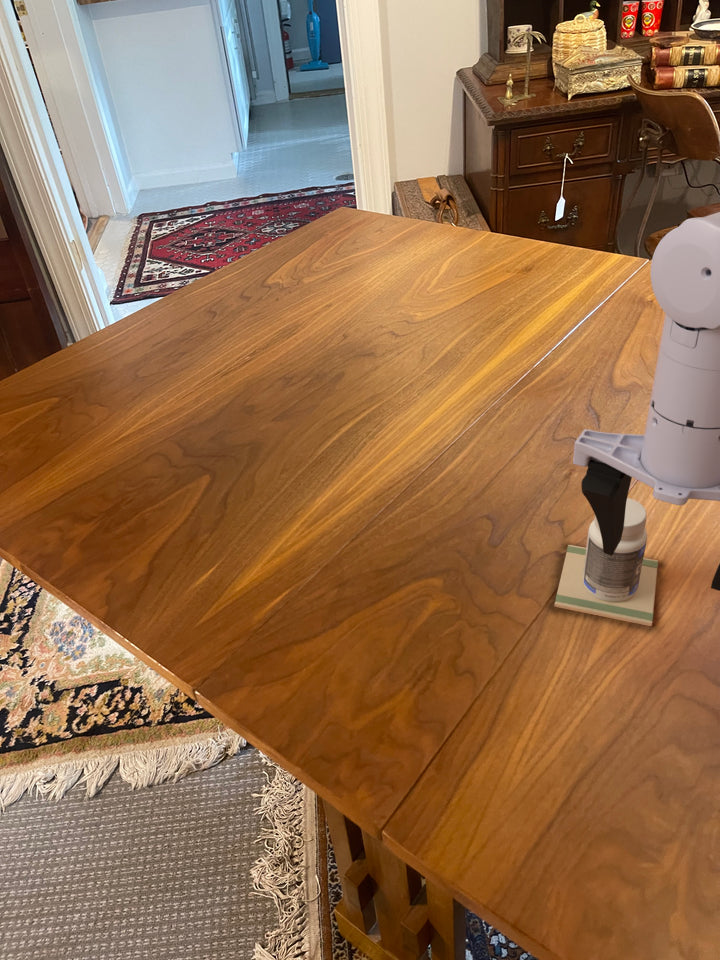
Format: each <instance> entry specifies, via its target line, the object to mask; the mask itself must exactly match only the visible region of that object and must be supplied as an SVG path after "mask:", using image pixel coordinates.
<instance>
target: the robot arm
mask: <svg viewBox="0 0 720 960" xmlns="http://www.w3.org/2000/svg"><path fill="white" fill-rule="evenodd" d="M650 283H651V284H650V285H651V289H652V291H653V295H654V297H655V299H656V301H657V303H658V305H659V307H660V309H662V311H663V312H664V313H665V314H664V320H663V324H662V330H661V331H662V332H661V336H660V343H659V347H658V354H657V359H656V365H655V371H654V376H653V382H652V387H651V394H650V400H649V406H648V412H647V418H646V424H645V429H644V434H636V433H635V434H634V433H633V434H632V433H616V432H603V431H597V430H593V429H588V428H584V429H583V430H582V432H581V433H580V434H579V436H578V437H577V439H576V440H575V441H574V446H573V447H574V448H573V457H572V464H573V465H576V466H579V467H583V468H587V469H586V471H585V473H586V474H585V475H584V476H583V478H582V480H581V483H580V485H581V494H582V495H583V496H584V497H585V499H586V500H587V502H588V503H589V505H590V508H591V509H592V511H593V514H594V517H595V516H596V519H597V522H598V525H599V528H600V532H601V537H602V543H603V552H604V553H605V554H608V555H611V556H612V555H613V553H614V551H615V550H616V548H617V546H618V544H619V543H620V541H621V537H622V533H623V529H624V520H625V509H626V501H627V498H628V497H629V496H628V495H629V492H630V487H631V483H632V478H633V479H634V480H637V481H638V482H640V483H642V484H644V485H646V486H648V487H650V488H652V490H653V491H652V497H653V499H655V500H658V501H661V502H664V503H668V504H671V505H675V506H685V505H686V504H688V501H689V500H700V501H701V500H703V501H713V502H720V211H718V212H715V213H712V214H708V215H706V216H702V217H701V216H700V217H699V216H698V217H691V218H688V219H685V220H683V222H682V223H681V224H680V225H679V226H677V227H675V228H673V229H672V230H670V231H669V232H667V233H666V234H665V235H664V236H663V237H662V238H661V239H660V241H659V242H658V244H657V246H656V248H655V250H654V252H653V255H652V258H651V264H650ZM710 589H713V590H715V591H717V592H718V591H719V592H720V562H719V563H718V566H717V567H716V570H715V573H714V576H713V578H712V581H711V586H710Z"/></svg>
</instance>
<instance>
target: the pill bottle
mask: <svg viewBox="0 0 720 960" xmlns="http://www.w3.org/2000/svg"><path fill="white" fill-rule="evenodd" d="M647 515H648V514H647V510H646V508H645V506H644V505H642V504H641V502H639V501H637V500H635V499H633V498H630V497H627V501H626V509H625V520H624V529H623V533H622V537H621V541H620V543H619V544H618V546H617V548H616V550H615V551H614V553H613V555H612V556H611V555H608V554H605V553H604V552H603V543H602V537H601V532H600V528H599V525H598V522H597V519H596V516H595V515H594V518H593V520H592V521H591V523H590V524H589V527H588V530H587V538H586V546H585V548H586V555H585V562H584V569H583V584H584V586H585V588H586V589H587V591H588V592H589V593H590V594H592V595H593V596H595V597H597V598H599V599H602V600H605V601H623V600H626V599H629V598H630V597H632V596H633V595H634V594H635V593H636V591H637V588H638V584H639V579H640V573H641V568H642V563H643V558H645V552H646V549H647V548H646V547H647V542H648V532H647V529H646V523H647Z"/></svg>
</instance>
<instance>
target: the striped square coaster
mask: <svg viewBox="0 0 720 960" xmlns="http://www.w3.org/2000/svg"><path fill="white" fill-rule="evenodd" d="M585 555H586V546H579V545H574V544H568V545H567V548H566V554H565V557H564V562H563V566H562V571H561V575H560V579H559V582H558V588H557V592H556V596H555V601H554V607H555V608H560V609H564V610H570V611H573V612H578V613H584V614H588V615H594V616H599V617H604V618H608V619H613V620H617V621H622V622H623V621H624V622H628V623H631V624H637V625H642V626H646V627H647V626H648V627H652V626H653V621H654V608H655V598H656V587H657V576H658V566H659V560H658V559H652V558H647V557H644V558H643V563H642V568H641V573H640V579H639V584H638V588H637V591H636V593H635V594H634V595H633V596H632V597H630V598H629V599H626V600H623V601H605V600H602V599H599V598H597V597H595V596H593V595H592V594H590V593H589V592H588V591H587V589H586V588H585V586H584V584H583V569H584V562H585Z"/></svg>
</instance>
